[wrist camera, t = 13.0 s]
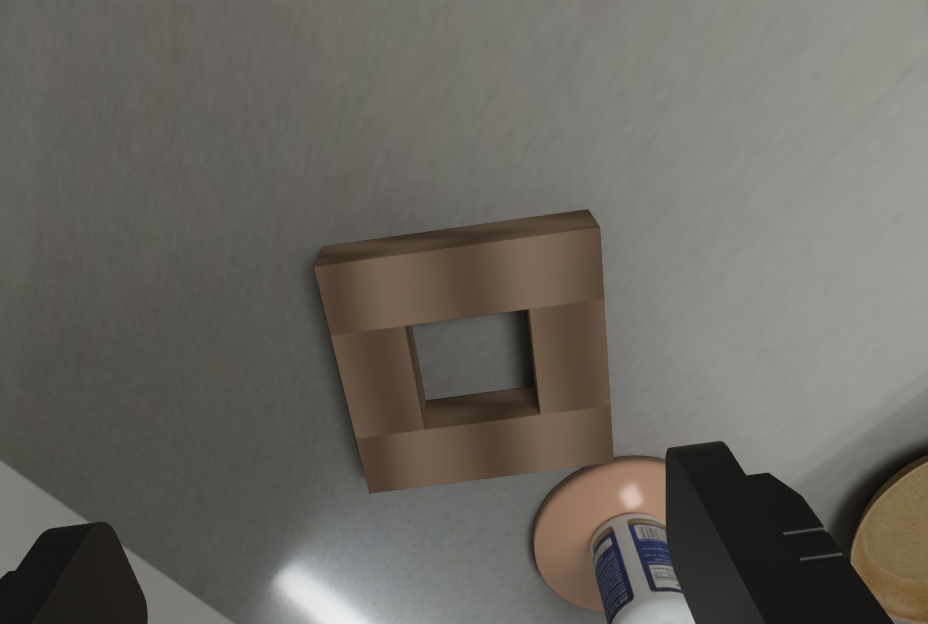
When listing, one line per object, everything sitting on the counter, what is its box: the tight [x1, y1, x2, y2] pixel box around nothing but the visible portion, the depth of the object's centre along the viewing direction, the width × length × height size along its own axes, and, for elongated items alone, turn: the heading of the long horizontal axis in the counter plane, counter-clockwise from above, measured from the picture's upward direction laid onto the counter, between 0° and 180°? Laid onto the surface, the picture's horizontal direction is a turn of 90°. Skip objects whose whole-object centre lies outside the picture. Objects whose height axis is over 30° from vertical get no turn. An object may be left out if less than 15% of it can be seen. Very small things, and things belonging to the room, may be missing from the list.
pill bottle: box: [590, 513, 695, 624], centre depth 40 cm, size 5×5×10 cm
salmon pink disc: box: [533, 456, 666, 612], centre depth 45 cm, size 12×12×1 cm
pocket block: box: [314, 209, 614, 493], centre depth 38 cm, size 14×14×3 cm
